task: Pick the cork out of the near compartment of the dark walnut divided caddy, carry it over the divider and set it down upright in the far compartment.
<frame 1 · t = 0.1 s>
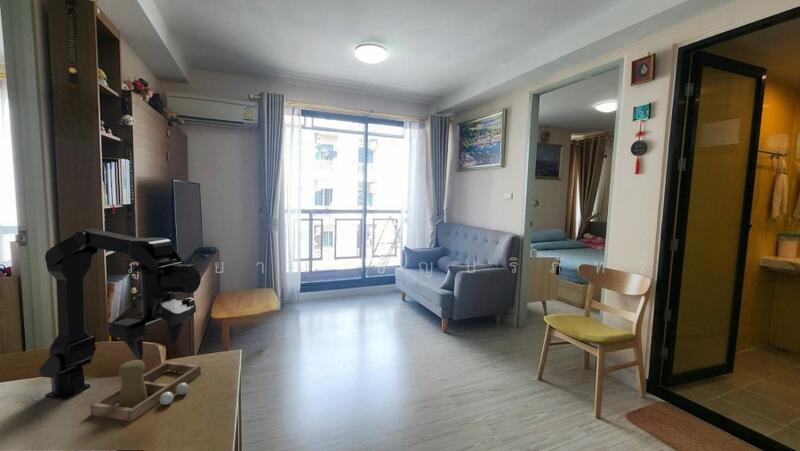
hand: (157, 350, 85), 14 cm above the table, fingers open, 9 cm apart
pebble b: (182, 393, 92), on the table
pebble a: (166, 403, 88), on the table
caddy: (151, 392, 92), on the table
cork: (133, 404, 87), resting in caddy
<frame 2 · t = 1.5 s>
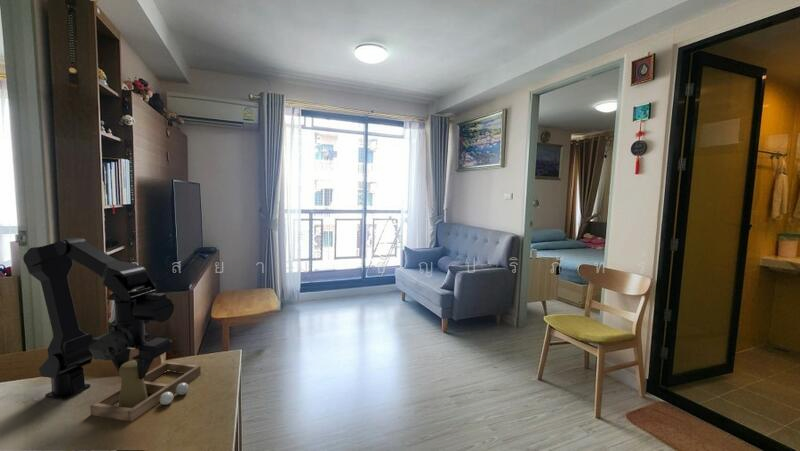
hand: (132, 377, 87), 7 cm above the table, fingers closed on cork, 5 cm apart
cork: (133, 404, 87), resting in caddy, touching gripper
everything else where it was.
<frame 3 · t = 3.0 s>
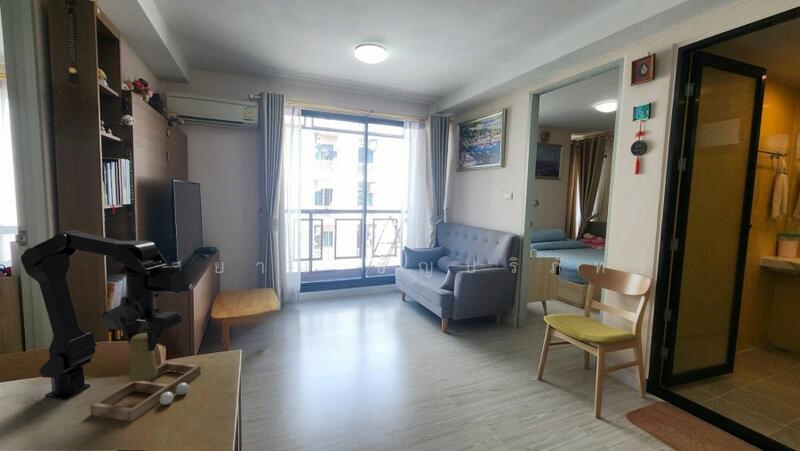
hand: (142, 349, 89), 13 cm above the table, fingers closed on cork, 5 cm apart
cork: (143, 376, 90), point 6 cm above the table, touching gripper
everything else where it was.
when the fingers open (8 cm above the table, at t = 4.7 s): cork drops 1 cm, resting in caddy.
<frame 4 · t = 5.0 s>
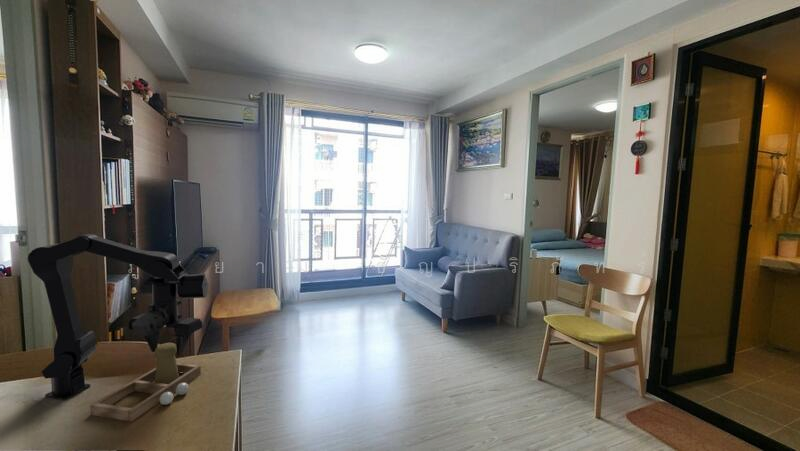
hand: (166, 353, 97), 8 cm above the table, fingers open, 8 cm apart
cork: (167, 382, 97), resting in caddy
everything else where it was.
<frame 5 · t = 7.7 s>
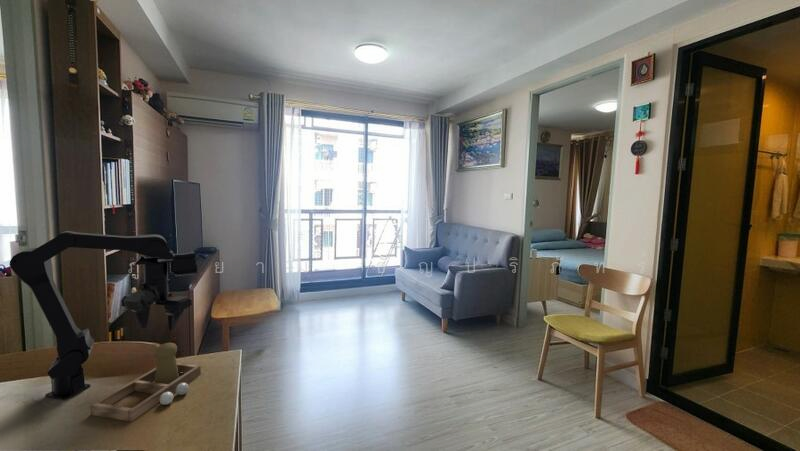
hand: (157, 329, 102), 13 cm above the table, fingers open, 9 cm apart
nothing on the table moved.
at the end: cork inside the target area on the caddy (0.3 cm from its centre), point 0.0 cm above the caddy's base; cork tilted 0°; the gripper is holding nothing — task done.
